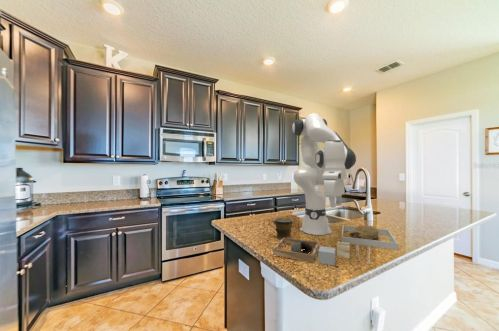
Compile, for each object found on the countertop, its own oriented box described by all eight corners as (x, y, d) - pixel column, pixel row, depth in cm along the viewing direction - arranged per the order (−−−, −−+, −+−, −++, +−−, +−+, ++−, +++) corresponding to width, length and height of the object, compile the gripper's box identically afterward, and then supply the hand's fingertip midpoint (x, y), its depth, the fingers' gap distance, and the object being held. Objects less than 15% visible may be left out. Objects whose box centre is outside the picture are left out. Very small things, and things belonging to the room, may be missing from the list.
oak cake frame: (283, 243, 109) (283, 237, 109) (318, 248, 102) (318, 242, 102) (272, 256, 93) (272, 249, 93) (313, 263, 86) (313, 255, 86)
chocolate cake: (300, 248, 104) (287, 234, 99) (314, 247, 100) (301, 232, 95) (298, 267, 97) (284, 254, 92) (312, 267, 93) (299, 253, 88)
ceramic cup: (291, 235, 122) (291, 217, 123) (293, 241, 113) (293, 222, 113) (269, 234, 124) (269, 217, 124) (269, 240, 114) (269, 221, 114)
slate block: (320, 257, 91) (320, 245, 91) (335, 260, 89) (335, 248, 89) (318, 263, 86) (318, 250, 86) (334, 266, 83) (334, 253, 83)
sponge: (367, 248, 105) (389, 233, 115) (362, 232, 106) (384, 219, 115) (345, 244, 117) (367, 232, 126) (340, 230, 118) (362, 219, 127)
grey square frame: (342, 230, 132) (342, 225, 132) (388, 235, 121) (388, 229, 122) (341, 242, 110) (341, 236, 110) (397, 249, 100) (397, 243, 100)
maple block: (337, 252, 97) (337, 241, 97) (349, 254, 95) (349, 242, 95) (337, 256, 93) (336, 245, 93) (349, 258, 91) (349, 246, 91)
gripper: (333, 175, 106) (334, 203, 105) (320, 175, 89) (321, 208, 89) (347, 175, 102) (348, 204, 101) (336, 175, 86) (337, 209, 85)
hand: (335, 206), depth 95 cm, fingers open, 8 cm apart
